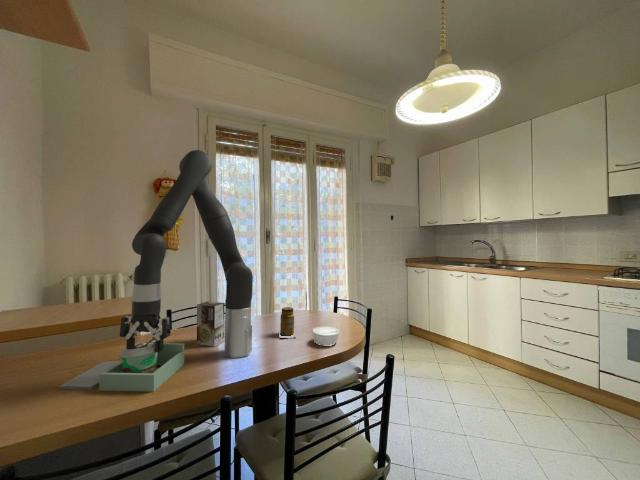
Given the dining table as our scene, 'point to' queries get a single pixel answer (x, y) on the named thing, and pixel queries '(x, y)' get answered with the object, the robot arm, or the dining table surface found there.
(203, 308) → the coffee box
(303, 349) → the dining table surface
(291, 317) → the condiment
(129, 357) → the food container
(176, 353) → the pale green open box
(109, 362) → the slate tile
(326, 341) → the ramekin
